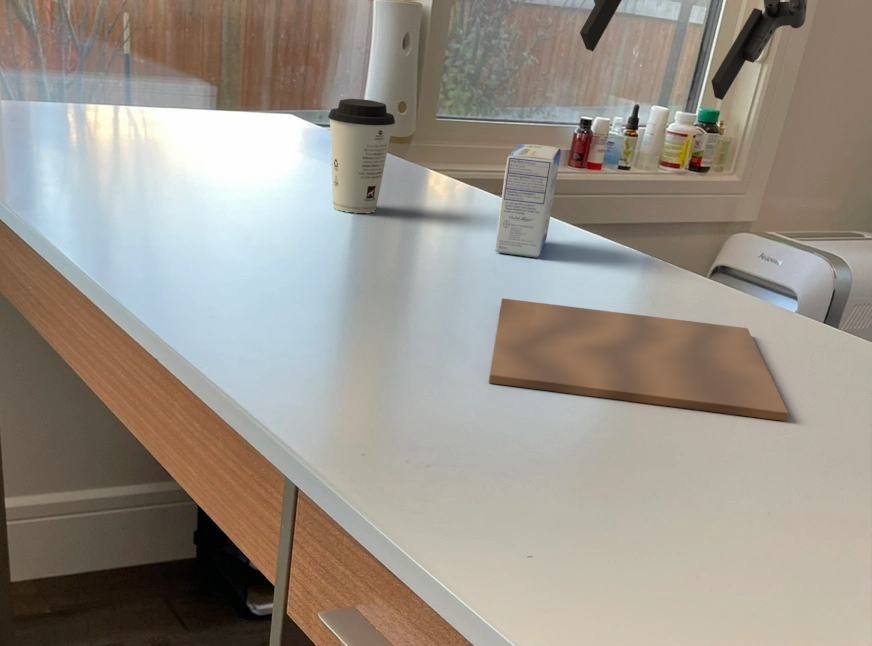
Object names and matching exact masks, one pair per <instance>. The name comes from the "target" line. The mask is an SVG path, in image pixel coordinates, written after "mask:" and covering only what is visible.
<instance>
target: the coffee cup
mask: <svg viewBox="0 0 872 646" xmlns="http://www.w3.org/2000/svg"><path fill="white" fill-rule="evenodd" d="M327 117H328V119H329V129H330V131H329V133H330V157H331V183H332V184H331V185H332V187H331V188H332V208H333V210H337V211H339V210H340V211H339V212H343V211H345V212H344V213H348V212H354V213H353V214H357V212H358V213H365V212H366V214H368V213H367V212H373V211H375V210H376V211H377V205H378V200H379V196H380V190H381V185H382V180H383V175H384V170H385V165H386V161H387V155H388V152H389V151H388V150H389V146H390V145H389V144H390V140H391V134H392V132H393V131H392V130H393V125H395V124H396V120H395V116H394V114H392V113H390V112H387V104H386V103H384V102H379V101H376V100H371V99H370V100H369V99H360V98H344V99H341V100H339V102H338V106H337V107H335V108H332V109H330V112H329V114H328V116H327ZM376 211H375V212H376ZM373 213H374V212H373Z"/></svg>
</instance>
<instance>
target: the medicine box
mask: <svg viewBox="0 0 872 646" xmlns="http://www.w3.org/2000/svg"><path fill="white" fill-rule="evenodd" d="M561 154H562V150H561V148H560V147H556V146H549V145H542V144H532V143H531V144H529V143H528V144H526V143H523V144H517V146H515V148H514V149H513V151H512V152H511V153H510V154H509V155H508V156H507V159H506V165H505V171H504V178H503V186H502V192H501V193H502V194H501V201H500V208H499V215H498V222H497V230H496V236H495V237H496V238H495V245H494V251H495V252H497V253H501V254H506V255H513V256H521V257H527V258H529V257H530V258H536V259H538V258H539V257H540V256H541V253H542V251H543V248H544V247H545V244H546V241H547V237H548V231H549V226H550V219H551V214H552V209H553V201H554V195H555V191H556V190H555V189H556V185H557V184H556V183H557V177H558V171H559V166H560V159H561Z"/></svg>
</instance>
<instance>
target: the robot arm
mask: <svg viewBox="0 0 872 646" xmlns="http://www.w3.org/2000/svg"><path fill="white" fill-rule="evenodd" d="M622 1H623V0H593V3H594V6H593V7H592V10H591V11H590V13H589V15H588V17H587V18H586V21H585V22H584V24H583V26H582V27H581V30H580V31H579V34H580V37H581V39H582V41H583V44H584V48H585V49H586V50H588V51H591V52H594V51H595V49H596V47H597V45H598V44H599V42H600V40H601V38H602V36H603V35H604V33H605V31H606V30H607V27H608V26H609V24H610V22H611V20H612V19H613V17H614V15H615V13H616V11H617V10H618V8H619V6H620V5H621V2H622ZM807 6H808V0H788V1H781V0H763V7H764V11H763V10H762V9H759V8H756V7H754V8H753V9H752V11H751V13H750V14H749V16H748V18H747V19H746V21H745V23H744V24H743V26H742V28H741V30H740V32H739V33H738V35H737V36H736V38H735V39H734V42H733V43H732V45H731V47H730V49H729V50H728V52H727V54H726V55H725V56H724V58H723V60H722V62H721V63H720V65H719V67H718V69H717V71H716V73H714V76H713V78H712V80H711V85H712V90H713V95H714V98H716V99H718V100H720V101H723V100H724V98H725V97H726V95H727V93H728V91H729V89H730V88H731V87H732V85H733V83H734V81H735V79H736V78H737V76H738V74H739V72H740V71H741V69H742V68H743V66H744V64H745V63H746V62H749V63H752V64H754V63H755V62H756V61H757V60H758V59H759V58H760V57H761V55H762V53H763V52H764V50H765V48H766V46H767V45H768V43H769V41H770V40H771V38H772V36H773V35H774V33H775V31H776V30H777V29H779V28H780V27H785V26H790V27H791V28H793V29H799V28H801V27H802V26H804V24H805V22H806V15H807Z"/></svg>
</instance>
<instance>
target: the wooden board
mask: <svg viewBox="0 0 872 646" xmlns="http://www.w3.org/2000/svg"><path fill="white" fill-rule="evenodd" d="M498 314H499V315H498V319H497V326H496V334H495V340H494V347H493V351H492V358H491V359H492V360H491V364H490V370H489V375H488V376H489V377H488V383H489V384H492V385H500V386H501V385H502V386H507V387H508V386H509V387H517V388H525V389H531V390H538V391H539V390H540V391H547V392H555V393H562V394H563V393H564V394H571V395H579V396H585V397H586V396H588V397H595V398H602V399H609V400H610V399H611V400H617V401H618V400H619V401H625V402H626V401H627V402H633V403H634V402H635V403H640V404H649V405H657V406H664V407H672V408H680V409H687V410H688V409H689V410H694V411H695V410H696V411H703V412H709V413H711V412H712V413H719V414H726V415H734V416H743V417H749V418H750V417H751V418H757V419H766V420H774V421H780V422H786V421H787V419H788V417H789V411H788V409H787V406H786V405H785V403H784V401H783V398H782V396H781V394H780V392H779V390H778V388H777V387H776V384H775V382H774V380H773V377H772V376H771V374H770V372H769V370H768V367H767V366H766V363H765V361H764V359H763V357H762V355H761V353H760V351H759V349H758V346H757V345H756V343H755V341H754V339H753V337H752V335H751V333H750V330H749V328H748V327H742V326H734V325H733V326H732V325H725V324H717V323H709V322H708V323H707V322H699V321H692V320H685V319H684V320H683V319H675V318H667V317H658V316H650V315H642V314H634V313H627V312H618V311H609V310H600V309H594V308H587V307H585V308H584V307H576V306H570V305H569V306H568V305H561V304H552V303H543V302H535V301H528V300H518V299H510V298H501V301H500V307H499V313H498Z"/></svg>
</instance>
